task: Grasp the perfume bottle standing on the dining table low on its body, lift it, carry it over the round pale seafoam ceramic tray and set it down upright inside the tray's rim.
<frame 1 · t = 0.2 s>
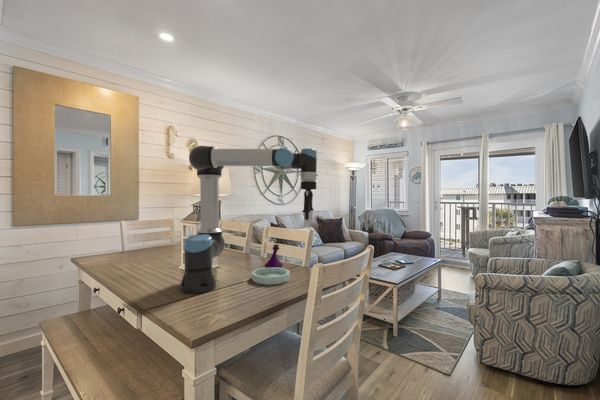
hand: (308, 225, 140), 28 cm above the table, fingers open, 13 cm apart
round tray: (270, 278, 145), on the table
perfume bottle: (273, 271, 160), on the table
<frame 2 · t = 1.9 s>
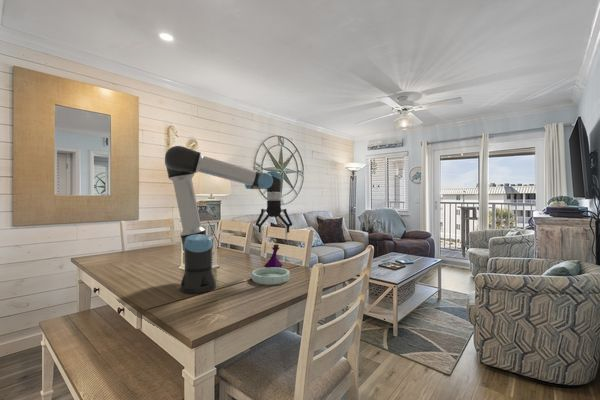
hand: (274, 238, 159), 18 cm above the table, fingers open, 13 cm apart
nothing on the table moved.
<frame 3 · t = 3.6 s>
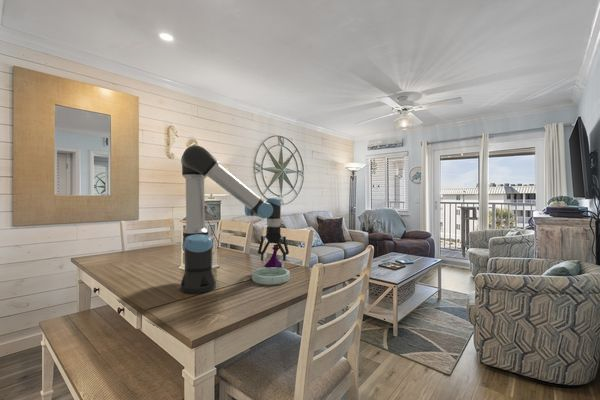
hand: (273, 266, 159), 3 cm above the table, fingers closed on perfume bottle, 10 cm apart
perfume bottle: (273, 271, 160), on the table, touching gripper
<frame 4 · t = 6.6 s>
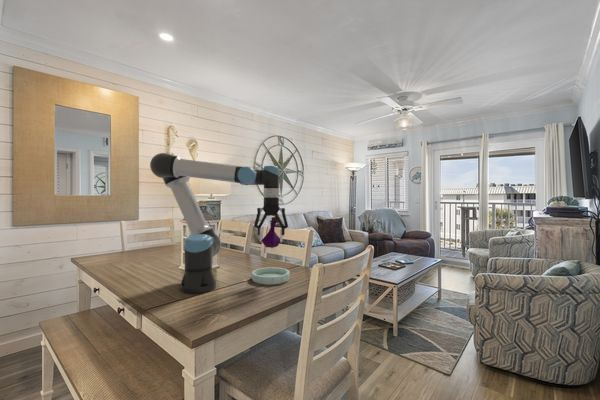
hand: (271, 241, 145), 19 cm above the table, fingers closed on perfume bottle, 9 cm apart
perfume bottle: (271, 247, 145), point 16 cm above the table, touching gripper
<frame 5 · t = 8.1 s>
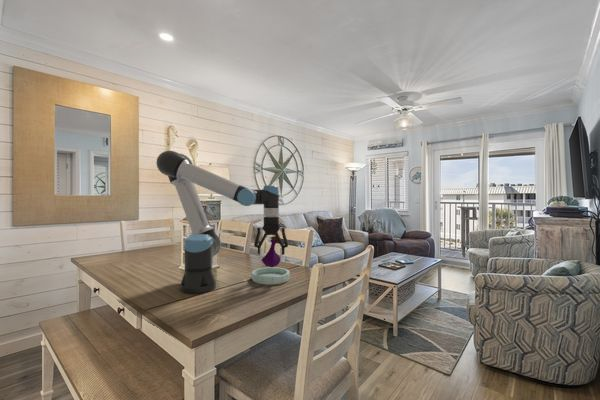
hand: (271, 260, 145), 9 cm above the table, fingers closed on perfume bottle, 9 cm apart
perfume bottle: (271, 266, 146), point 6 cm above the table, touching gripper
when the fingers open (5 cm above the table, at t = 9.5 s): perfume bottle drops 1 cm, resting on round tray.
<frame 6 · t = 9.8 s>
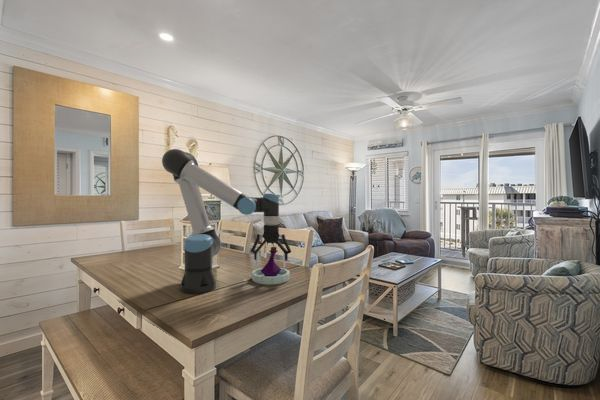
hand: (270, 266, 145), 6 cm above the table, fingers open, 13 cm apart
perfume bottle: (271, 276, 146), point 1 cm above the table, touching round tray
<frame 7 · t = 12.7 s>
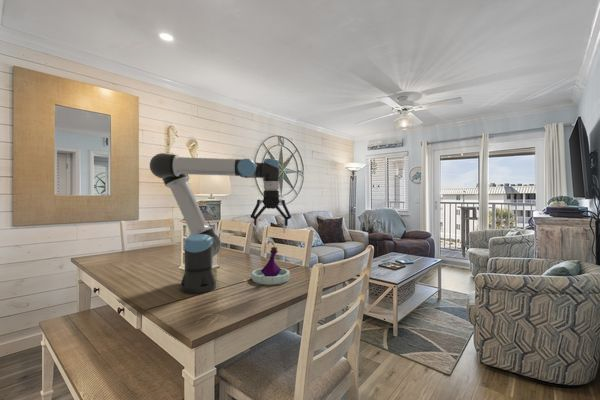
hand: (270, 232, 145), 23 cm above the table, fingers open, 13 cm apart
nothing on the table moved.
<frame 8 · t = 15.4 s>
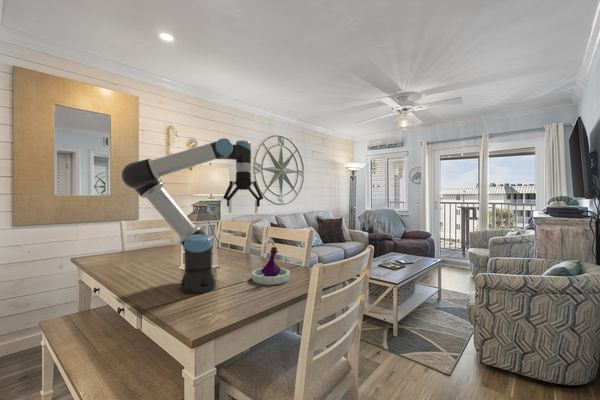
hand: (243, 213, 149), 33 cm above the table, fingers open, 13 cm apart
nothing on the table moved.
at the end: perfume bottle 0.7 cm from the round tray (horizontally); perfume bottle tilted 0°; the gripper is holding nothing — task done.
